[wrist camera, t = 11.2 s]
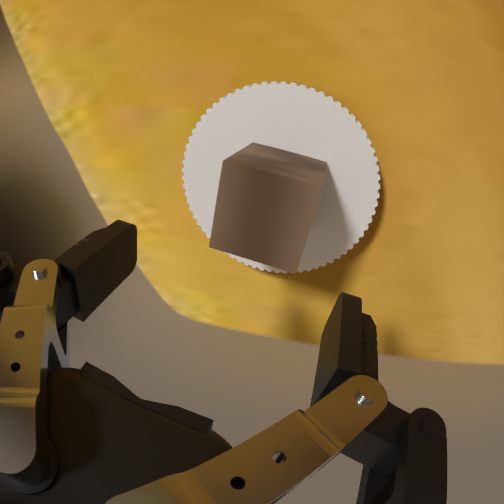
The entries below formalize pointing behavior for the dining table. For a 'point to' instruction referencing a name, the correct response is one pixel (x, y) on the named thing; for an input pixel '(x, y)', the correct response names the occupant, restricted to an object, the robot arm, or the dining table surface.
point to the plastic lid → (297, 141)
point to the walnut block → (267, 205)
